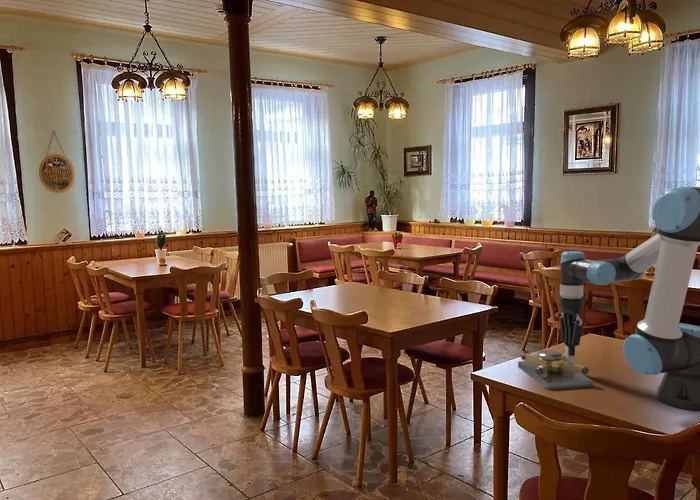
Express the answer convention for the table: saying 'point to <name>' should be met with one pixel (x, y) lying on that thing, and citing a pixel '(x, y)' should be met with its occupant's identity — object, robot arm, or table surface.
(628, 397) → the table surface
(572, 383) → the stand
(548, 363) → the capstan
